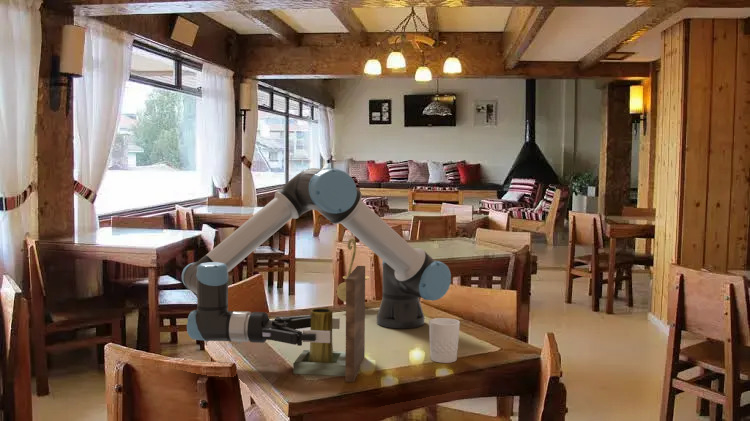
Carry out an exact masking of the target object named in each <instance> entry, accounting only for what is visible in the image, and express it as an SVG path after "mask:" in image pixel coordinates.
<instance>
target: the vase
mask: <svg viewBox="0 0 750 421" xmlns="http://www.w3.org/2000/svg"><path fill="white" fill-rule="evenodd" d="M310 315H311V327H310V330H318V331H331V342H330V343H315V342H309V350H310V359H309V362H318V363H333V351H334V350H333V346H334V345H333V329H332V318H333V310H332V309H331V308H326V307H324V308H323V307H318V308H317V307H316V308H313V309H311V310H310Z"/></svg>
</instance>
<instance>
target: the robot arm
mask: <svg viewBox="0 0 750 421" xmlns="http://www.w3.org/2000/svg"><path fill="white" fill-rule="evenodd" d="M312 210H314V211H317V213H318V212H319V213H320V214H321V215H322V216H323V217H324V218H325V219H326V220H327V221H329V222H330V223H331V224H333V225H339V224H341V225H342V226H343V227H344V228H345V229H346V230H348V231H349V232H350V233H351V234H352V235H354V237H356V238H357V239H358V240H359V241H360V242H361V243H363V244H364V245H365V246H366V247H367V248H368V249H369V250H371V251H372V253H374V254H375V255H376V256H377V257H379V258H380V259H381V260H382V265H381V267H382V299H381V302H380V306H379V309H378V311H377V316H376V324H377V325H379V326H381V327H384V328H392V329H412V328H413V329H414V328H419V327H422V326H424V324H425V315H424V311H423V308H422V305H421V302H420V298H421V299H423V300H425V301H433V302H434V301H437V300H440V299H442V298H443V297H444V296H445V295H446V294H447V293H448V291H449V289H450V287H451V283H452V280H451V277H452V274H451V270H450V267H449V266H448V265H447V264H446V263H444V262H442V261H440V260H435V259H434V258H432V256H430V255H429V254H428V253H427V252H426V251H425V250H424V249H423V248H420V247H417V248H414V247H413V246H412V245H411V244H410V243H409V242H408V241H406V239H404V238H403V236H401V235H400V234H398V232H397V231H396V230H394V228H392V227H391V226H390V225H389V224H388V223H387V222H386V221H384V219H382V218H381V216H379V215H378V214H377V213H376V212H374V211H373V210H372V208H370V207H369V206H368V205H367V204H366V203H365V202H363V201H362V192H361V191H359V189H358V188H357V185H356V182H355V181H354V179H353V178H352V176H351V175H350V174H348V172H346V171H344V170H341V169H339V168H333V167H326V168H315V167H314V168H313V167H312V168H307V169H304V170H303V171H301V172H299V173H298V174H296V175H295V176H294V177H292V178H291V179H290V180H289V181H288V182H286V183H285V184H284V185H283V186H282V187H280V188H279V189H278V190H277V191H276V192H274V198H272V199H271V200H270V201H269V202H268V203H266V204H265V206H263V207H262V208H261V209H259V210H258V211H257V212H256V213H255V214H254V215H252V216H250V218H248V220H246V221H244V223H243V224H241V225H240V226H239V227H238V228H236V230H234V231H233V232H232V233H230V235H228V236H227V237H225V238H224V239H223V240H222V241H221V242H220V243H219V244H217V245H216V246H215V247H214V248H211V250H210V251H209V252H208V253H207V254H205V255H204V256H203V257H201V258H200V259H199V260H198V261H196V262H191V263H189V264H187V265H186V266H185V267H184V268H183V270H182V272H181V281H182V283H183V285H184V287H185V288H186V289H187V290H189V291H190V292H192V293H194V294H196V298H197V299H196V300H197V301H196V303H197V306H196V309H194V310H191V311H190V313H189V314H188V317H187V323H186V330H187V331H186V332H187V334H188V336H189V338H190V339H192V340H196V341H204V342H236V343H237V344H238V345H241V344H242V343H248V342H250V343H257V344H258V343H260V344H263V343H265V342H267V340H268V341H275V342H280V343H284V344H290V345H295V346H296V345H297V346H300V347H301V346H303V343H310V342H315V343H330V342H331V331H318V330H311V329H308V328H311V314H308V315H305V314H304V315H295V316H294V315H292V316H275V318H274V319H272V320H270V318H269V314H268V313H267V312H265V311H252V312H251V311H243V310H239V311H238V310H232V311H231V310H229V273H230V272H231V270H233V269H234V268H235V267H236V266H237V265H238V264H240V263H241V262H242V261H244V260H245V258H247V257H248V256H249V255H250V254H252V253H253V252H254V251H255V250H256V249H258V248H259V247H260V246H261V245H262V244H264V243H265V242H266V241H267V240H268V239H269V238H271V236H273V235H274V234H275V233H276V232H277V231H279V230H280V229H281V228H282V227H283V226H285V225H286V224H287V223H288V222H290V221H291V220H292V219H295V220H296V219H299V218H300V217H301V216H302V215H303V214H305V213H307V212H309V211H312ZM340 320H341V318H340V317H332V330H340V328H341V327H340V323H341V322H340ZM302 329H303V330H302ZM301 330H302V331H301Z"/></svg>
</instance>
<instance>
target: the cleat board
mask: <svg viewBox="0 0 750 421" xmlns="http://www.w3.org/2000/svg"><path fill="white" fill-rule="evenodd" d="M365 276H366V265H357V266H356V267H355V268H354V269H353V270H352V271H351V274H350V275H349V276H348V277H347V278H346V280H345V282H346V302H345V351H338V350H337V351H334V350H333V363H318V362H309V359H310V349H303V350H302V352H301V353H300V354H299V356H298V357H297V358H296V360H295V361H294V362H293V364H292V366H293V368H292V369H293V373H292V374H294V375H298V374H299V375H311V376H312V375H317V376H318V375H319V376H335V377H336V376H338V377H339V376H340V377H344V378H345V383H355V381H356V378H357V376H358V374H359V371H360V369H361V366H362V364H363V362H364V359H365V354H366V352H365V351H366V350H365V348H366V347H365V346H366V345H365V343H366V342H365V341H366V340H365V339H366V337H365V335H366V334H365V333H366V332H365V331H366V330H365V329H366V328H365V327H366V324H365V323H366V280H365Z"/></svg>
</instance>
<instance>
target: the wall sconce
mask: <svg viewBox="0 0 750 421" xmlns="http://www.w3.org/2000/svg"><path fill="white" fill-rule="evenodd" d="M351 243H352V244H353V245H351ZM347 248H348V250H350V251H351V250H352V249H353V250H352V254H351V258H350V264H349V267H348V270H347V275H344V276H342V278H343V279H344V280H345V281H344V282H341V283H339V285H337V288H336V296H337V297H338V299H340V301H342V302H345V303H346V278H347V277H348V276H349V275H350V274H351V273H352V268H353V264H354V261H355V258H356V253H357V243H356V239H355V238H354V237H350V238H349V240H348V242H347ZM369 279H370V276H368V275H365V281H366V280H369Z"/></svg>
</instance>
